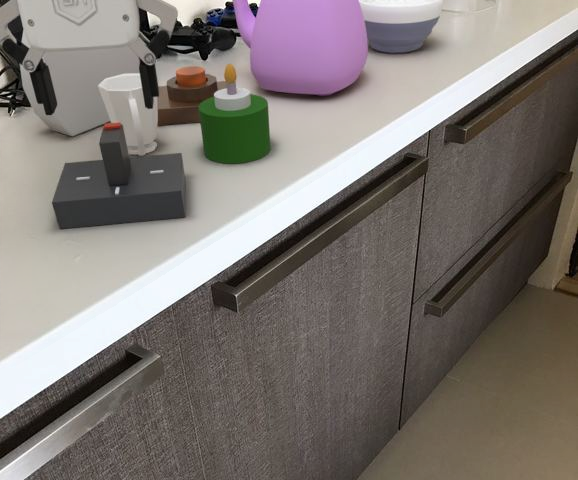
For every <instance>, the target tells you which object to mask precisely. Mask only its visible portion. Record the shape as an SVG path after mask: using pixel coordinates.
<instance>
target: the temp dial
mask: <svg viewBox="0 0 578 480" xmlns="http://www.w3.org/2000/svg"><path fill="white" fill-rule="evenodd" d="M102 126H103V127H102V131H101V134H100V137H99V143H98V145H99V150H100V154H101V158H102V160H103V163H104V167H105V171H106V176H107V180H108V184H109V186H113V185H124V184H128V180H129V174H130V167H131V163H130V158H129V157H130V154H128V149H127V144H126V139H125V134H124V129H123V125H122V124H121V123H120V122H119V123H111V122H108V123H106V124H103V125H102Z"/></svg>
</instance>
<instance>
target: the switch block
mask: <svg viewBox="0 0 578 480" xmlns="http://www.w3.org/2000/svg"><path fill="white" fill-rule="evenodd" d="M205 75H206V83H204V84H201V85H197V86H179V85H177V78H176V76H173V77H171V78H169V79H168V80H166V85H161V86H160V85H158V88H159V97H157V108H158V123H157V127H159V126H160V127H161V126H172V125H181V124H184V125H185V124H195V123H200V116H199V108H198V107H199V104H200V103H201V102H203V101H204V100H206V99H209V98H211V97H214V93H215V92H217V91H219V90H221V89H226V88H227V84H226V81H225V80H222V81H221V80H220V81H218V79H217V76H215V75H212V74H209V73H205Z"/></svg>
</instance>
